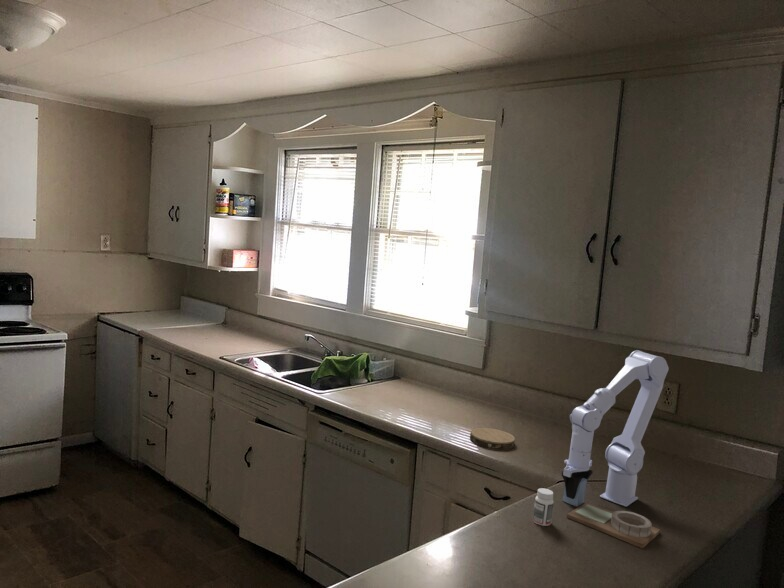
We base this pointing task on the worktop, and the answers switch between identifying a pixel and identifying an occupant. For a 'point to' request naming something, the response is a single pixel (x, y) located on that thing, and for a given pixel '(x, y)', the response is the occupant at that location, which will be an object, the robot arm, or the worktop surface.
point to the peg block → (577, 494)
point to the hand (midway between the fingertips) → (574, 495)
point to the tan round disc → (492, 438)
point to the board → (610, 529)
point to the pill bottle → (543, 507)
